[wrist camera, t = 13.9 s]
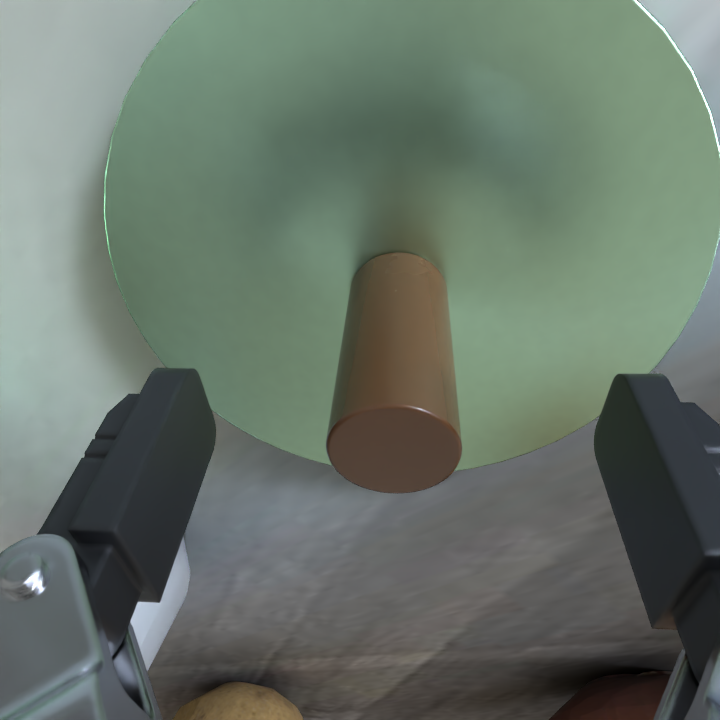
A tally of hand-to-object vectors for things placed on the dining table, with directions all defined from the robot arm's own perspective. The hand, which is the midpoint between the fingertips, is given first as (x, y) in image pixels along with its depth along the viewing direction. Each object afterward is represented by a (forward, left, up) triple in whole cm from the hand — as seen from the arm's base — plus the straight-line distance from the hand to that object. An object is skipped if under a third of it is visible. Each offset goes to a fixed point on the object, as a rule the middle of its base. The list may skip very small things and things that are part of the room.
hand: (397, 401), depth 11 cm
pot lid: (0, 0, -5) cm, 5 cm away
